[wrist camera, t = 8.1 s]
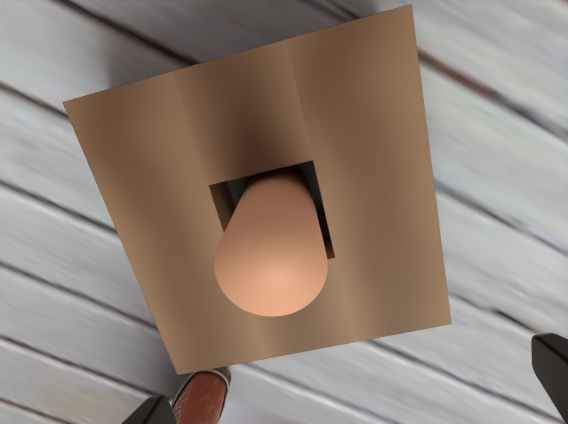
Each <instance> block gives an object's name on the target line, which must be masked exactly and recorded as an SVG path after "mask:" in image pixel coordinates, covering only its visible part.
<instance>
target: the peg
mask: <svg viewBox="0 0 568 424" xmlns="http://www.w3.org/2000/svg"><path fill="white" fill-rule="evenodd" d="M214 269H215V275H216V279H217V281H218V284H219V286H220V288H221V289H222V291H223V293H224V294H225V295H226V296H227V298H228V299H230V300H231V301H232V302H233V303H234V304H235V305H237V306H238V307H240V308H241V309H243V310H245V311H247V312H250V313H253V314H256V315H261V316H270V317H274V316H283V315H288V314H291V313H294V312H296V311H299V310H301V309H302V308H304V307H306V306H307V305H308V304H310V303H311V302H312V301H313V300H314V299H315V298H316V297H317V295H318V294H319V293H320V291H321V289H322V288H323V286H324V283H325V281H326V277H327V271H328V261H327V255H326V251H325V246H324V242H323V238H322V234H321V230H320V225H319V221H318V217H317V213H316V208H315V204H314V200H313V196H312V192H311V188H310V186H309V184H308V182H307V180H306V179H305V178H304V176H303V175H302V174H300V173H299V172H298V171H296V170H294V169H292V168H290V167H287V166H286V167H282V168H278V169H274V170H270V171H266V172H261V173H257V174H255V175H254V176H253V177H252V178H251V179H250V181H249V182H248V184H247V186H246V188H245V190H244V193H243V195H242V197H241V199H240V201H239V203H238V205H237V207H236V209H235V211H234V213H233V216H232V218H231V220H230V222H229V224H228V226H227V228H226V230H225V232H224V234H223V236H222V238H221V241H220V243H219V245H218V247H217V250H216V253H215V259H214Z"/></svg>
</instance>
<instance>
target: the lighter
mask: <svg viewBox="0 0 568 424" xmlns="http://www.w3.org/2000/svg"><path fill="white" fill-rule="evenodd" d="M230 381H231V373H230V371H229V369H228V368H227V367H226V366H224V367H219V368H213V369H208V370H203V371H197V372H192V373H188V374H187V376H186V377H185V379H184V380H183V382H182V383H181V385H180V387H179V389H178V391H177V393H176V395H175V397H174V399H173V401H172V404H171V408H172V410H173V412H174V415H175V417H176V421H177V424H219V421H220V419H221V416H222V413H223V411H224V408H225V405H226V400H227V396H228V391H229V386H230Z"/></svg>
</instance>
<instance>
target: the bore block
mask: <svg viewBox="0 0 568 424" xmlns="http://www.w3.org/2000/svg"><path fill="white" fill-rule="evenodd" d="M63 105H64V107H65V109H66V112H67V114H68V117H69V119H70V121H71V124H72V126H73V128H74V131H75V133H76V136H77V138H78V140H79V143H80V145H81V147H82V150H83V152H84V155H85V157H86V159H87V162H88V164H89V166H90V169H91V171H92V173H93V176H94V178H95V181H96V183H97V185H98V188H99V190H100V192H101V195H102V197H103V200H104V202H105V204H106V207H107V209H108V211H109V214H110V216H111V218H112V221H113V223H114V226H115V228H116V230H117V233H118V235H119V237H120V240H121V242H122V245H123V247H124V249H125V252H126V254H127V256H128V259H129V261H130V264H131V266H132V268H133V271H134V273H135V275H136V278H137V280H138V282H139V285H140V287H141V290H142V292H143V294H144V297H145V299H146V301H147V304H148V306H149V309H150V311H151V313H152V316H153V318H154V320H155V323H156V325H157V328H158V330H159V332H160V335H161V337H162V339H163V342H164V344H165V346H166V349H167V351H168V354H169V356H170V358H171V361H172V363H173V365H174V368H175V370H176V373H177V375H181V374H187V373H192V372H197V371H203V370H208V369H213V368H219V367H224V366H229V365H235V364H240V363H245V362H251V361H256V360H262V359H267V358H272V357H278V356H283V355H288V354H294V353H299V352H304V351H310V350H315V349H320V348H326V347H331V346H337V345H342V344H347V343H353V342H358V341H363V340H369V339H374V338H379V337H385V336H390V335H395V334H401V333H406V332H412V331H417V330H422V329H428V328H433V327H438V326H444V325H449V324H451V316H450V308H449V300H448V292H447V284H446V276H445V268H444V260H443V252H442V245H441V237H440V229H439V221H438V213H437V205H436V197H435V189H434V181H433V173H432V165H431V157H430V149H429V141H428V133H427V125H426V117H425V109H424V101H423V93H422V85H421V77H420V69H419V61H418V53H417V45H416V37H415V29H414V21H413V13H412V5H411V4H410V5H406V6H403V7H399V8H396V9H392V10H388V11H385V12H381V13H378V14H374V15H371V16H367V17H364V18H360V19H356V20H353V21H349V22H346V23H342V24H339V25H335V26H331V27H328V28H324V29H321V30H317V31H314V32H310V33H307V34H303V35H299V36H296V37H292V38H289V39H285V40H282V41H278V42H275V43H271V44H267V45H264V46H260V47H257V48H253V49H250V50H246V51H243V52H239V53H235V54H232V55H228V56H225V57H221V58H218V59H214V60H210V61H207V62H203V63H200V64H196V65H193V66H189V67H186V68H182V69H178V70H175V71H171V72H168V73H164V74H161V75H157V76H154V77H150V78H146V79H143V80H139V81H136V82H132V83H129V84H125V85H122V86H118V87H114V88H111V89H107V90H104V91H100V92H97V93H93V94H89V95H86V96H82V97H79V98H75V99H72V100H68V101H65V102H63ZM286 166H287V167H290V168H292V169H294V170H296V171H298V172H299V173H300V174H302V175H303V176H304V178H305V179H306V180H307V182H308V184H309V186H310V188H311V192H312V196H313V200H314V204H315V208H316V213H317V217H318V221H319V225H320V230H321V234H322V238H323V242H324V246H325V251H326V255H327V261H328V271H327V277H326V281H325V283H324V286H323V288H322V289H321V291H320V293H319V294H318V295H317V297H316V298H315V299H314V300H313V301H312V302H311V303H310V304H308V305H307V306H306V307H304V308H302V309H301V310H299V311H296V312H294V313H291V314H288V315H283V316H274V317H270V316H261V315H256V314H253V313H250V312H247V311H245V310H243V309H241V308H240V307H238V306H237V305H235V304H234V303H233V302H232V301H231V300H230V299H228V298H227V296H226V295H225V294H224V293H223V291H222V289H221V288H220V286H219V284H218V281H217V279H216V275H215V269H214V259H215V253H216V250H217V247H218V245H219V243H220V241H221V238H222V236H223V234H224V232H225V230H226V228H227V226H228V224H229V222H230V220H231V218H232V216H233V213H234V211H235V209H236V207H237V205H238V203H239V201H240V199H241V197H242V195H243V193H244V190H245V188H246V186H247V184H248V182H249V181H250V179H251V178H252V177H253V176H254V175H255V174H257V173H261V172H266V171H270V170H274V169H278V168H282V167H286Z"/></svg>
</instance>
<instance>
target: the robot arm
mask: <svg viewBox="0 0 568 424" xmlns="http://www.w3.org/2000/svg"><path fill="white" fill-rule="evenodd" d="M531 348H532V366H533V370H534V372H535V374H536V376H537V378H538V379H539V381H540V382H541V384H542V386H543V387H544V389H545V391H546V392H547V394H548V395H549V397H550V399H551V400H552V402H553V403H554V405H555V407H556V408H557V410H558V412H559V413H560V415H561V416H562V418H563V420H564V421H565V423H566V424H568V339H566V338H564V337H561V336H559V335H557V334H554V333H544V334H538V335H534V336H533V337H532V340H531ZM122 424H177V421H176V417H175V415H174V412H173V410H172V408H171V405H170V403H169V401H168V399H167V397H166V396H165V395H159V396H153V397H149V398H148V399H147V400H146V401H144V402H143V403H142V404H141V405H140V406H139V407H138V408H137V409H136V410H135V411H134V412H133V413H132V414H131V415H130V416H129V417H128V418H127V419H126V420H125V421H124V422H123V423H122Z"/></svg>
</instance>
